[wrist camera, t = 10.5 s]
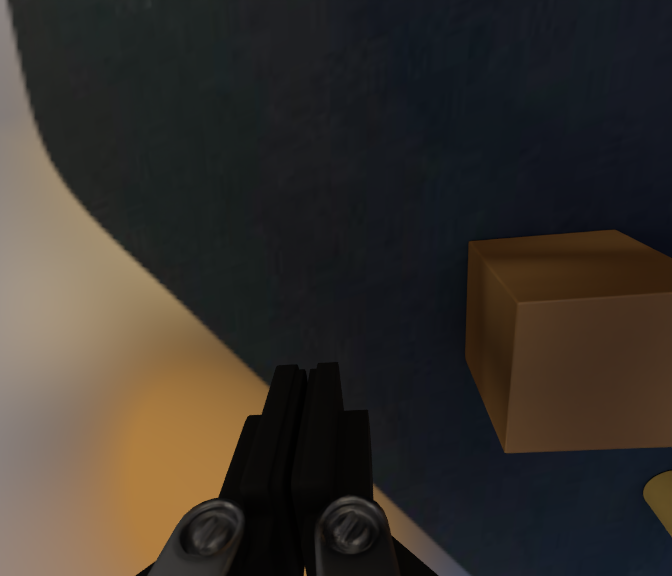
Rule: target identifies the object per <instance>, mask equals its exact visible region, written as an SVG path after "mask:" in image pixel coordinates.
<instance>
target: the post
mask: <svg viewBox="0 0 672 576" xmlns="http://www.w3.org/2000/svg"><path fill="white" fill-rule="evenodd" d="M643 495H644V499H645V500H646V502H647V503H648V505H649V506H650V507H651V509H652V510H653V512H654V513H655V514H656V516H657V517H658V518H659V520H660V521H661V523H662V524H663V525H664V527H665V528H666V530H667V531H668V532H669V534H670V535H671V537H672V471H667V472H664V473H661V474H659V475H657V476H655V477H654V478H652V479H651V480H650V481H649V482H648V483H647V484H646V486H645V488H644V491H643Z"/></svg>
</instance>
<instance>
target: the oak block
mask: <svg viewBox="0 0 672 576" xmlns="http://www.w3.org/2000/svg"><path fill="white" fill-rule="evenodd" d="M465 359H466V362H467V364H468V366H469V369H470V371H471V373H472V376H473V378H474V381H475V383H476V385H477V388H478V390H479V393H480V395H481V397H482V400H483V402H484V404H485V407H486V409H487V412H488V414H489V416H490V419H491V421H492V423H493V426H494V428H495V431H496V433H497V435H498V438H499V440H500V443H501V445H502V447H503V450H504V452H505V453H525V452H550V451H575V450H601V449H626V448H651V447H672V258H670V257H668V256H666V255H664V254H662V253H660V252H658V251H656V250H654V249H652V248H651V247H649V246H647V245H645V244H643V243H641V242H639V241H637V240H635V239H633V238H631V237H629V236H627V235H625V234H623V233H621V232H619V231H617V230H603V231H591V232H578V233H566V234H553V235H541V236H528V237H516V238H503V239H491V240H478V241H470V242H469V248H468V281H467V313H466V346H465Z"/></svg>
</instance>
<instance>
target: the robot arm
mask: <svg viewBox="0 0 672 576" xmlns="http://www.w3.org/2000/svg"><path fill="white" fill-rule="evenodd" d="M304 568H305V569H306V574H307V576H438V575H437V574H436V573H435V572H434V571H432V570H431V569H430V568H429V567H428V566H427V565H425V564H424V563H423V562H422V561H421V560H420V559H418V558H417V557H416V556H415V555H414V554H413V553H411V552H410V551H409V550H408V549H407V548H406V547H404V546H403V545H402V544H401V543H400V542H399V541H397V540H396V539H395V538H394V537H393V536H392V535H391V533H390V528H389V524H388V520H387V517H386V515H385V512H384V510H383V509H382V508H381V507H380V505H379V504H378V503H377V502H376V501H374V500H373V477H372V454H371V438H370V426H369V415H368V410H353V411H344V407H343V399H342V390H341V381H340V373H339V365H338V362H332V363H318V365H317V369H310V373H309V379H308V382H307V375H306V371H305V369H302V370H299V367H298V365H297V364H296V365H279V366H277V367H276V370H275V373H274V376H273V379H272V382H271V386H270V389H269V392H268V395H267V399H266V402H265V405H264V409H263V412H262V415H249V416H248V417H247V419H246V421H245V424H244V426H243V429H242V432H241V435H240V438H239V440H238V444H237V446H236V449H235V452H234V455H233V458H232V460H231V463H230V466H229V469H228V472H227V474H226V477H225V480H224V483H223V486H222V489H221V492H220V494H219V497H218V498H214V499H211V500H207V501H204V502H202V503H200V504H198V505H196V506H195V507H193V508H192V509H191V510H190V511H189V512H187V513H186V514H185V515H184V516H183V518H182V519H181V520H180V522H179V523H178V524H177V526H176V527H175V529H174V531H173V533H172V534H171V536H170V538H169V540H168V541H167V543H166V545H165V546H164V548H163V550H162V551H161V553H160V555H159V557H158V558H157V560H156V561H155V562H154V563H152V564H151V565H150V566H148V567H147V568H145V569H144V570H143V571H141V572H140V573H139V574H137V575H136V576H304Z"/></svg>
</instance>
